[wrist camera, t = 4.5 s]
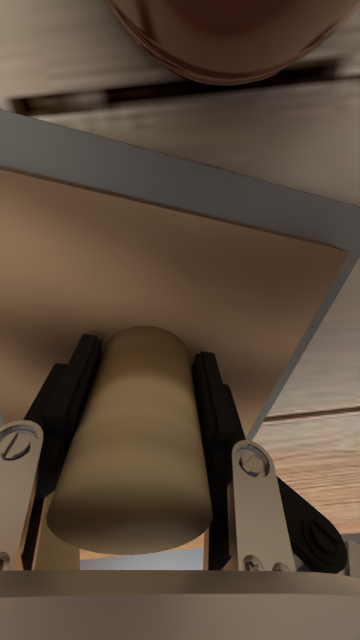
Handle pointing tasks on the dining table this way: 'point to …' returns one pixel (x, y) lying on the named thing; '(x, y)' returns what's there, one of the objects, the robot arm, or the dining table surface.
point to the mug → (230, 34)
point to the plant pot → (55, 549)
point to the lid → (143, 343)
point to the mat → (185, 196)
